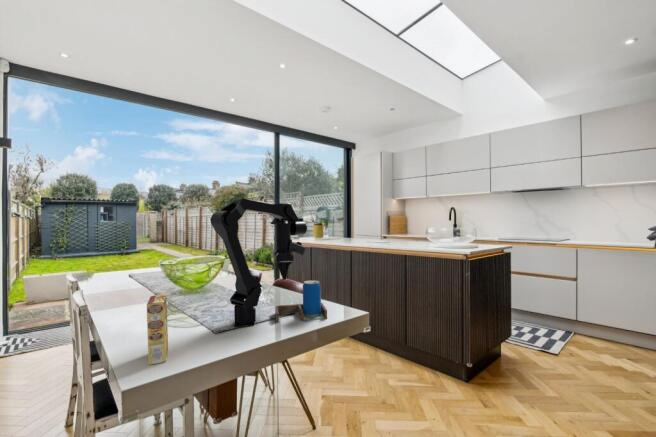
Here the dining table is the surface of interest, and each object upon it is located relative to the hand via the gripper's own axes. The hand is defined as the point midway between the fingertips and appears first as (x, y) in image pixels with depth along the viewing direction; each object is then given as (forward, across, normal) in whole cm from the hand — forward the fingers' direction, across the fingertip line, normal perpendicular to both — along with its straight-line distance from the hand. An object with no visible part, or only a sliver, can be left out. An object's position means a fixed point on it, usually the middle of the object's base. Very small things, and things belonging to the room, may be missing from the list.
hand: (283, 277), depth 123 cm
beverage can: (+13, -8, -10) cm, 18 cm away
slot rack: (+13, -8, -5) cm, 16 cm away
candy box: (+13, -33, +34) cm, 50 cm away
